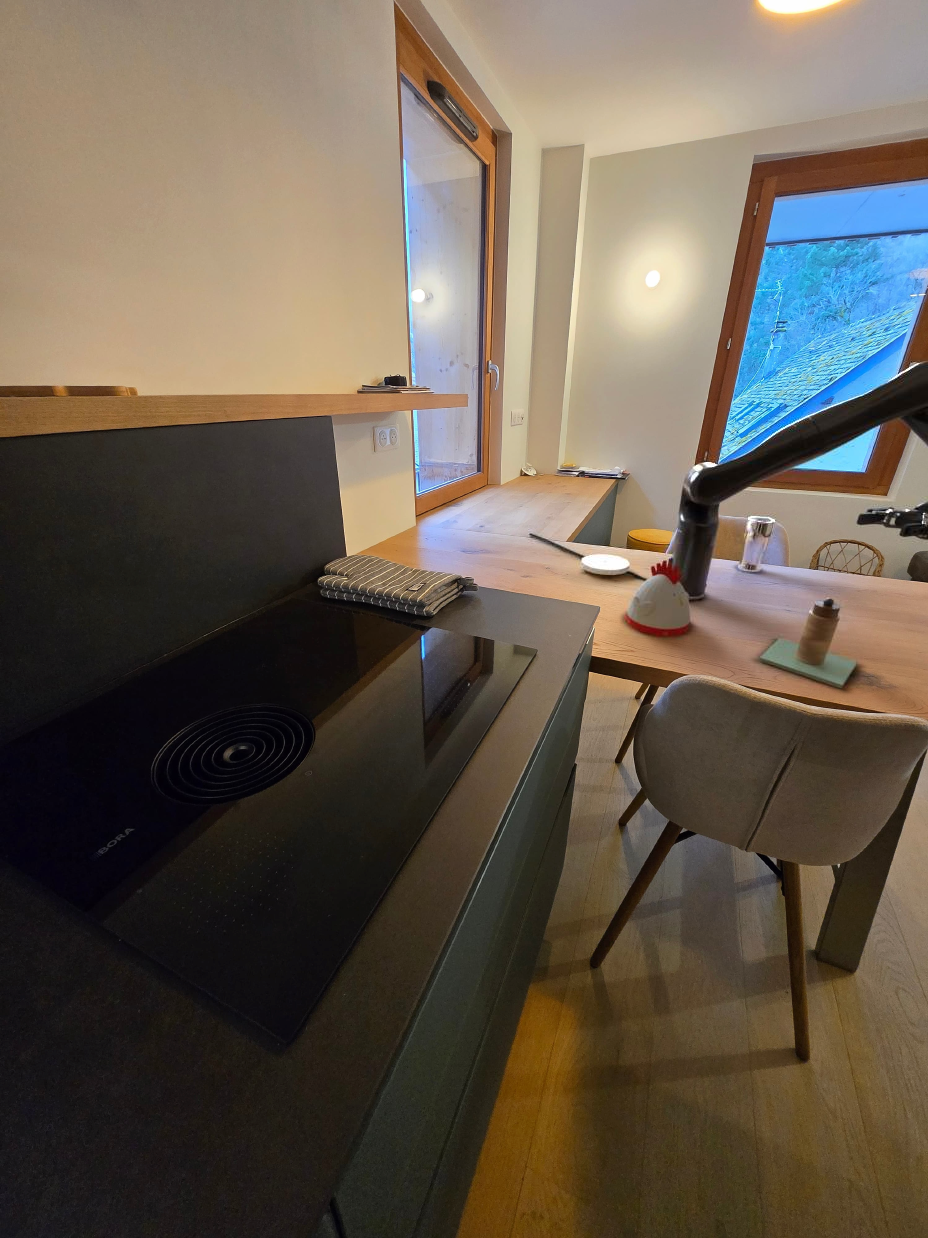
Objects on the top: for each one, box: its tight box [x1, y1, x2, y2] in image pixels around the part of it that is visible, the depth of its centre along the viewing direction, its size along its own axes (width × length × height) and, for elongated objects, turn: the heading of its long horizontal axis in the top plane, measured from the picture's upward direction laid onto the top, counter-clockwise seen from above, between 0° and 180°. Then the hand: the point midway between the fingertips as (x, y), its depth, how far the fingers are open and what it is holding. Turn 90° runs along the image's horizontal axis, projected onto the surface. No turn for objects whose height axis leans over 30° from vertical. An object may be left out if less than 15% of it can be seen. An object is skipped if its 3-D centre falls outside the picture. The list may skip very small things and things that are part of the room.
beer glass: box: [737, 516, 776, 573], centre depth 144 cm, size 7×7×15 cm
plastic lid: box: [580, 553, 631, 576], centre depth 147 cm, size 14×14×2 cm
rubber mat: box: [759, 637, 858, 689], centre depth 98 cm, size 14×12×1 cm
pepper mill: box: [795, 597, 841, 666], centre depth 95 cm, size 5×5×13 cm
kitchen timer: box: [625, 559, 691, 637], centre depth 113 cm, size 14×14×15 cm
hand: (880, 524), depth 94 cm, fingers open, 8 cm apart
